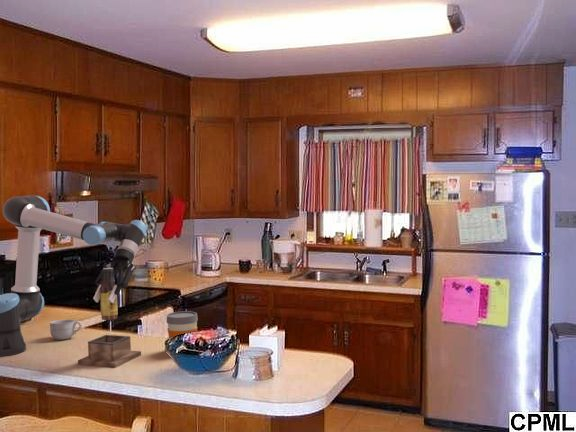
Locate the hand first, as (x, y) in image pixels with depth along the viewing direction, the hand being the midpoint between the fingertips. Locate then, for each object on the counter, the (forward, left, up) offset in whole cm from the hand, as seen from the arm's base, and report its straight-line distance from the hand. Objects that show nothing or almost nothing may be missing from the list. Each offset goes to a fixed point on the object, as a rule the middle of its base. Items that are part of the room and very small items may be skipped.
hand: (103, 300), depth 238 cm
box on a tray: (0, +3, -24) cm, 24 cm away
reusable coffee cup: (+22, +22, -24) cm, 39 cm away
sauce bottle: (0, +4, -8) cm, 9 cm away
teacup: (-40, +27, -24) cm, 54 cm away
